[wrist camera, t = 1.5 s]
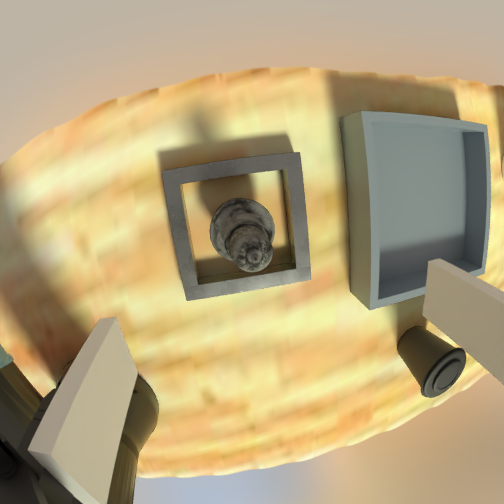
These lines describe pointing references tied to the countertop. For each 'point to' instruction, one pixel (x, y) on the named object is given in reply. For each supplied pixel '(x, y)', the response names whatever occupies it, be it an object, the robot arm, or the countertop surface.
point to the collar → (242, 279)
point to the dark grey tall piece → (243, 234)
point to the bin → (413, 200)
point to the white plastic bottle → (503, 167)
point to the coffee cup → (431, 360)
